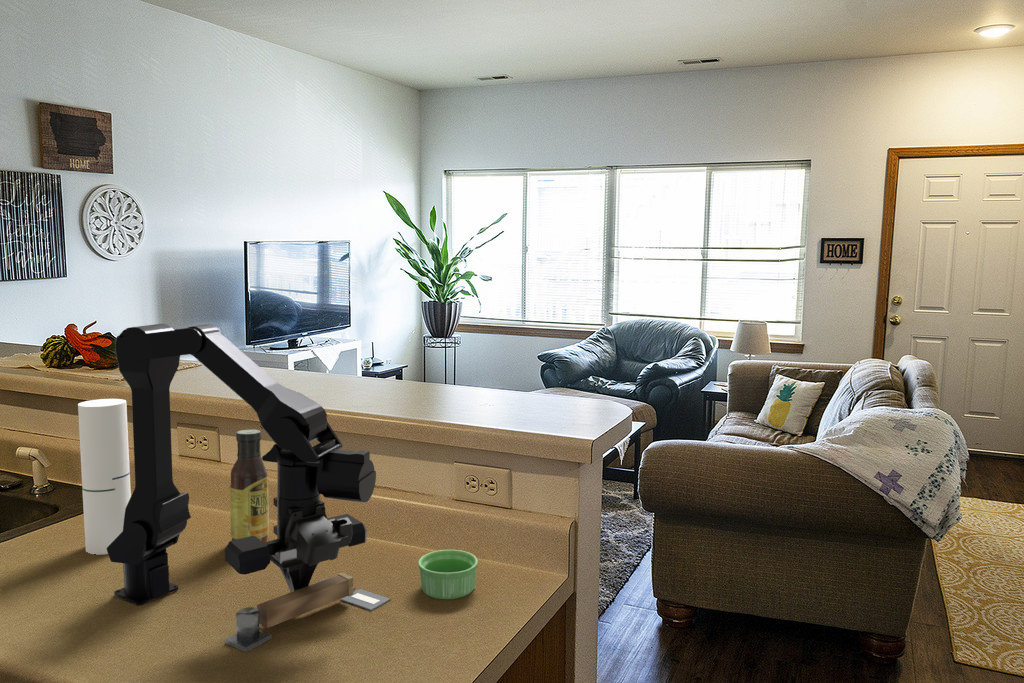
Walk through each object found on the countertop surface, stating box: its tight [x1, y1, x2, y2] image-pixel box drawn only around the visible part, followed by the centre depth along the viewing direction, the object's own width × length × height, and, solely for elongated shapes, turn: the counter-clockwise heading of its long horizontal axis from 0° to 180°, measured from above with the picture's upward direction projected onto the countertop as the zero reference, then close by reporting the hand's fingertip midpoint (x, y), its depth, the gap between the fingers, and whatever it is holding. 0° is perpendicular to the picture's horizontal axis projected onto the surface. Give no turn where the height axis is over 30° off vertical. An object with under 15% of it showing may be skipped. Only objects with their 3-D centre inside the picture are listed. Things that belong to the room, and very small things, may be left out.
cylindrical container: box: [77, 398, 132, 556], centre depth 127 cm, size 7×7×25 cm
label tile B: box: [340, 588, 391, 612], centre depth 109 cm, size 6×4×1 cm, turn 58°
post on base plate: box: [224, 606, 272, 653], centre depth 97 cm, size 4×4×4 cm
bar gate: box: [256, 572, 354, 629], centre depth 104 cm, size 14×3×3 cm, turn 139°
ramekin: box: [417, 549, 479, 600], centre depth 114 cm, size 9×9×4 cm
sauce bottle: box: [229, 429, 270, 542], centre depth 129 cm, size 6×6×20 cm
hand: (298, 599), depth 106 cm, fingers closed
